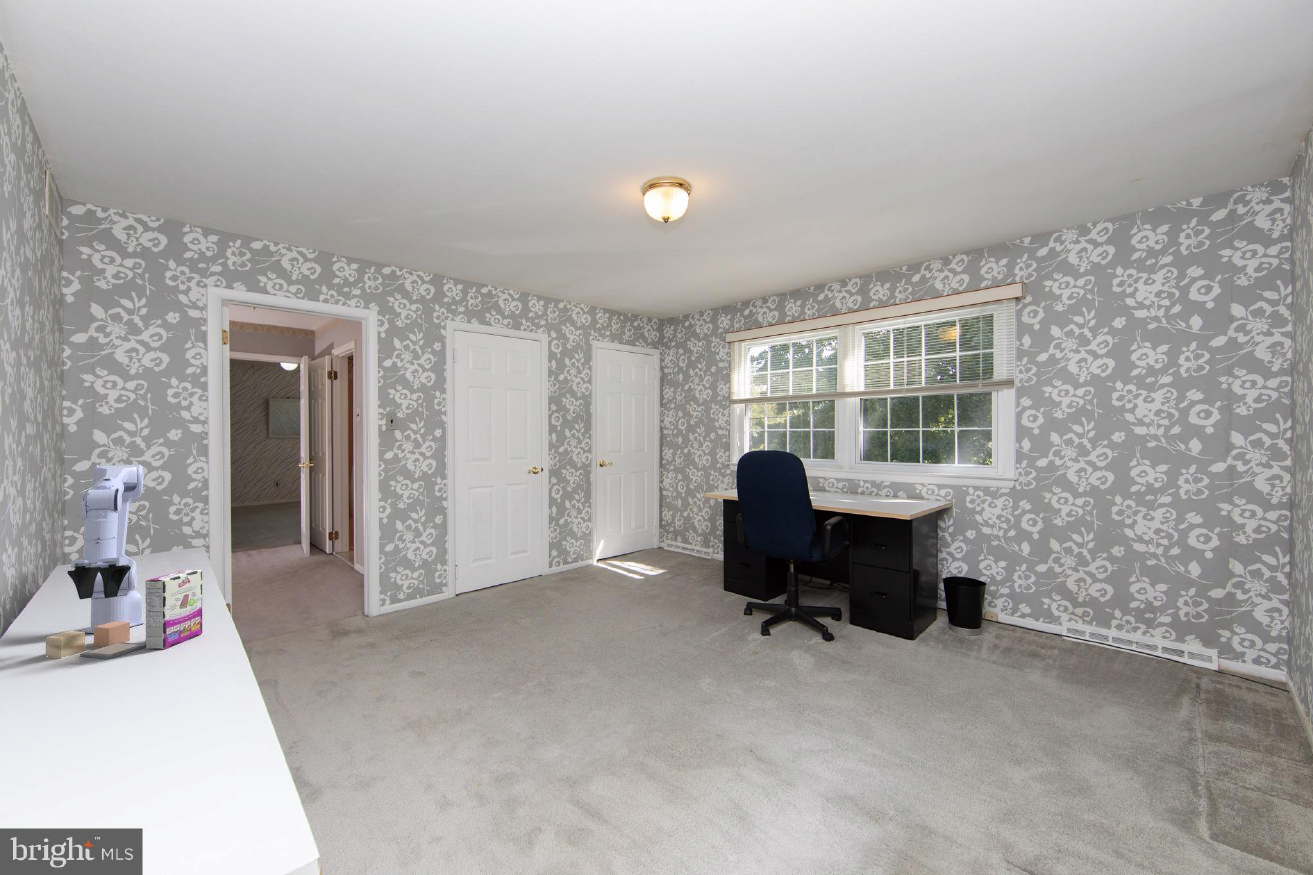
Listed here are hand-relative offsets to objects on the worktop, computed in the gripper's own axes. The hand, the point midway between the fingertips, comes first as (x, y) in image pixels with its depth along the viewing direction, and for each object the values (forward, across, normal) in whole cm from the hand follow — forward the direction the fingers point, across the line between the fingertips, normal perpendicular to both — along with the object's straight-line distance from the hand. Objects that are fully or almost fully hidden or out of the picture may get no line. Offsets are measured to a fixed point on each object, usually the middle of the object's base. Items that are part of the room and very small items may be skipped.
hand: (98, 598), depth 135 cm
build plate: (+12, +5, 0) cm, 13 cm away
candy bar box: (+12, +12, +9) cm, 19 cm away
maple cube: (+12, -4, -3) cm, 13 cm away
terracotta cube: (+11, -2, +5) cm, 12 cm away
